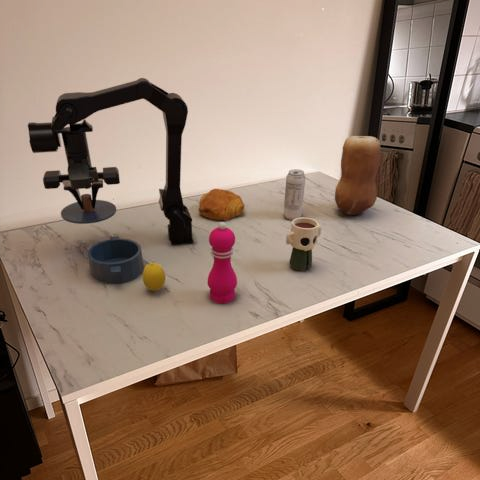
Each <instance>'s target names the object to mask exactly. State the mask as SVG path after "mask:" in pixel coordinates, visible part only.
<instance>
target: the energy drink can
mask: <svg viewBox="0 0 480 480" xmlns="http://www.w3.org/2000/svg"><path fill="white" fill-rule="evenodd" d="M305 186H306V175H305V171H304V170H301V169H296V168H295V169H294V168H293V169H290V170H288V173H287V175H286V177H285V187H284V202H283V212H282V213H283V216H284V218H285V219H287V220H290V221H293V220H294V219H296V218H301V217H302V215H303V206H304V196H305Z"/></svg>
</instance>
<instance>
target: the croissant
mask: <svg viewBox="0 0 480 480" xmlns="http://www.w3.org/2000/svg"><path fill="white" fill-rule="evenodd" d="M244 210H245V204H244V201H243V199H242V197H241V196H240V195H239V194H236V193H234V192H233V191H231V190H227V189H220V188H213V189H210V190H209V191H208V192H206V193H204V194H202V196H201V198H200V200H199V205H198V213H199V214H200V215H201V216H203V217H205V218H208V219H211V220H218V221H219V220H220V221H221V220H224V221H228V220H231V219H232V218H236V217H238V216H240V215H241V214H242V213H243V212H244Z"/></svg>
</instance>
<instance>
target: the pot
mask: <svg viewBox="0 0 480 480" xmlns="http://www.w3.org/2000/svg"><path fill="white" fill-rule="evenodd" d="M142 253H143V252H142V245H140V243H138V242H137V241H135V240H133V239H129V238H121V237H119V235H118V236H109V239H105V240H102V241H98V242H97V243H95V244H92V245H91V247H89V249H87V261H88V265H89V269H90V273H91V276H92V278H93V279H94V280H95V281H97V282H100V283H103V284H109V285H116V284H118V285H119V284H123V283H124V284H125V283H128V282H131V281H133V280H135V279H137V278H138V277H140V276H141V275H142V274H143V270H144V268H145V267H144V261H143V254H142Z"/></svg>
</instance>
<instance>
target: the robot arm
mask: <svg viewBox="0 0 480 480" xmlns="http://www.w3.org/2000/svg"><path fill="white" fill-rule="evenodd" d="M140 100H145V101H146V102H148V103H149V104H150V105H152V106H154V107H155V108H156V109H158V110H159V111H160V112H162V117H163V122H164V123H163V124H164V128H165V185H164V187H163V189H162V188H159V189H158V193H159V199H158V204H159V207H160V208H159V209H160V210H161V212H162V213H163V215H164V217H165V219H167V220H168V224H167V235H168V240H169V241H170V243H171V245H172V246H178V245H179V246H180V245H188V244H194V238H193V218H192V216H191V213H190V211H189V209H188V207H187V206H186V205H185V204H184V200H183V194H182V191H181V175H182V173H181V172H182V171H181V170H182V142H183V141H182V140H183V139H182V138H183V133H184V130H185V127H186V125H187V119H188V113H189V108H188V105H187V103H186V102H185V100H183V98H182V97H181V95H180V94H178V93H175V92H167V91H166V90H164V89H163V88H161V87H159V86H157V85H156V84H153V82H151V81H150V80H149V79H147V78H145V77H139V78H138V79H135V80H132V81H130V82H125V83H121V84H118V85H114V86H111V87H107V88H103V89H100V90H95V91H92V92H81V91H80V92H79V91H77V92H66V93H65V92H64V93H62V94H60V95H59V96H58V98H57V100H56V102H55V103H56V104H55V114H54V116H52V117H51V118H52V119H51V122H28V123H27V129H28V138H29V146H30V149H31V151H32V153H33V154H39V153H43V154H44V153H57V152H58V150H59V148H62V143H63V147H64V152H65V158H66V163H67V173H66V174H62V172H61V170H59V169H57V170H46V171H44V173H43V178H42V182H43V187H44V189H46V190H52V189H58V188H59V187H60V186H61V183H62V185H63V190H64V191H68V192H69V193H70V194H71V195H72V196H73V197H74V199H75V200H76V202H78V204H79V205H80V207H81V209H82V210H83V204H82V199H81V195H82V194H81V192H80V190H81V189H83V190H84V189H85V190H89V189H91V198H92V205H93V209H95V203H96V200H97V196H98V192H99V190H100V189H103V188H104V184H106V185H107V186H109V185H112V186H113V185H119V184H121V180H120V171H119V168H117V166H108V167H102V171H99V172H98V170H97V167H96V166H92V160H91V154H90V148H89V143H88V137H87V133H92V132H94V129H93V128H94V127H93V125H92V124H90V122H88V121H87V118H90V116H92V115H94V114H95V113H97V112H99V111H103V110H106V109H111V108H114V107H117V106H122V105H125V104H128V103H132V102H136V101H140ZM60 134H61V136H60ZM61 138H62V141H61Z"/></svg>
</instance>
